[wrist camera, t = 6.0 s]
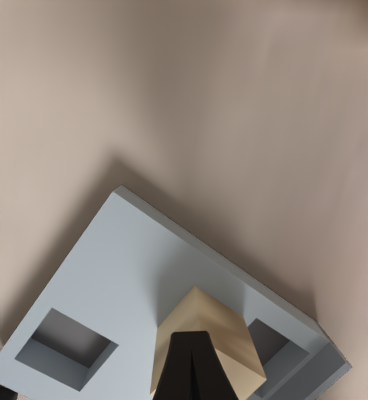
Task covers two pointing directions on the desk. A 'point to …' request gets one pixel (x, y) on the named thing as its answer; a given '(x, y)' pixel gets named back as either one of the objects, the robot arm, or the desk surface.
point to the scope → (7, 394)
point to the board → (151, 314)
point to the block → (213, 340)
